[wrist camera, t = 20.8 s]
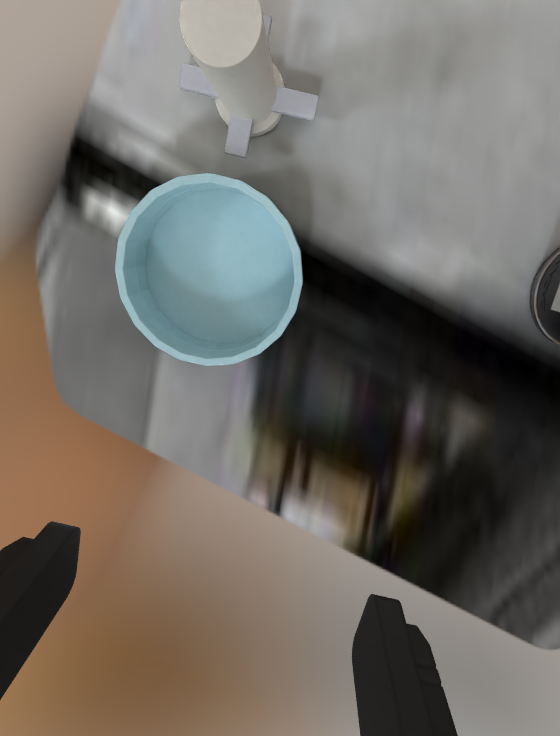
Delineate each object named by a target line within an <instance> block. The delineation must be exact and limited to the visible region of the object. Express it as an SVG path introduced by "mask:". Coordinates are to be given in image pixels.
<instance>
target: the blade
mask: <svg viewBox="0 0 560 736" xmlns="http://www.w3.org/2000/svg"><path fill="white" fill-rule="evenodd" d="M179 19H180V29H181V33H182V36H183V39H184V41H185V43H186V45H187V47H188V49H189V50H190V52H191V54H192V55H193V57H194V58H195V60H196V62H197V63H198V65H199V66H200V67H199V66H194V65H190V64H186V63H182V69H181V77H180V84H179V88H180V89H181V90H185V91H189V92H193V93H198V94H202V95H206V96H210V97H214V98H215V102H216V106H217V109H218V112H219V114H220V116H221V117H222V119H223V120H224V122H225V123H226V124H227V125H228V126H229V127H228V133H227V139H226V145H225V151H224V152H225V153H226V154H230V155H234V156H239V157H243V158H247V152H248V147H249V142H250V137H255V136H260V135H263V134H265V133H267V132H269V131H270V130H271V129H273V128H274V127H275V126H276V125H277V123H278V122H279V120H280V119H281V117H282V114H285V115H289V116H293V117H297V118H301V119H305V120H310V121H314V117H315V113H316V108H317V104H318V99H319V96H318V95H314V94H310V93H306V92H302V91H298V90H294V89H289V88H285V86H284V81H283V78H282V76H281V74H280V72H279V70H278V69H277V67H276V66H275V65H274V64H273V63H272V61H271V56H270V51H269V45H268V39H269V33H270V28H271V23H272V17H271V16H268V15H264V14H263V13H262V8H261V4H260V1H259V0H182V2H181V7H180V15H179Z"/></svg>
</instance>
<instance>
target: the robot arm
mask: <svg viewBox="0 0 560 736" xmlns="http://www.w3.org/2000/svg"><path fill="white" fill-rule="evenodd" d="M530 308H531V313H532V317H533V320H534V322H535V324H536V326H537V327H538V329H539V330H540V331H541V333H542V334H543V335H544V336H545V337H547V338H548V339H549V340H551V341H552V342H554V343H556V344H558V345H560V248H558V249H557V250H556V251H555V252H554V253H552V254H551V255H550V256H549V257H548V259H547V260H546V261H545V262H544V263H543V265H542V266H541V268H540V269H539V271H538V273H537V275H536V277H535V279H534V282H533V285H532V289H531V295H530ZM80 534H81V533H80V528H79V527H75V526H70V525H66V524H62V523H57V522H50V523H48V524H47V525H46V526H45V527H44V528H43V530H42V531H41V532H40V533H39V534H38V535H37V536H36V538H35V539H30V538H26V537H22V538H21V539H19V540H17V541H15V542H13V543H12V544H10V545H8V546H6V547H4V548H3V549H2V550H1V551H0V700H1V698H2V696H3V695H4V693H5V692H6V690H7V689H8V687H9V686H10V684H11V683H12V681H13V680H14V678H15V677H16V675H17V674H18V672H19V670H20V669H21V667H22V666H23V664H24V662H25V661H26V660H27V658H28V656H29V655H30V654H31V652H32V650H33V649H34V647H35V646H36V644H37V643H38V641H39V640H40V638H41V637H42V635H43V634H44V632H45V630H46V629H47V627H48V626H49V624H50V623H51V621H52V620H53V618H54V616H55V615H56V614H57V612H58V611H59V609H60V608H61V606H62V604H63V603H64V601H65V600H66V598H67V597H68V594H69V593H70V590H71V588H72V586H73V583H74V580H75V577H76V572H77V562H78V552H79V544H80ZM352 664H353V673H354V683H355V691H356V700H357V708H358V717H359V726H360V735H361V736H458V735H457V732H456V729H455V725H454V722H453V719H452V716H451V713H450V709H449V706H448V703H447V699H446V696H445V693H444V690H443V687H441V680H440V677H439V673H438V670H437V669H436V663H435V660H434V657H433V654H432V651H431V647H430V645H429V643H428V642H427V640H426V639H425V637H424V636H423V634H422V633H421V631H420V630H419V628H418V627H417V626H415V625H410V624H406V621H405V617H404V614H403V610H402V606H401V603H400V601H399V600H396V599H392V598H387V597H383V596H378V595H374V594H371V595H370V596H369V598H368V600H367V603H366V606H365V608H364V611H363V614H362V617H361V620H360V622H359V625H358V628H357V631H356V634H355V637H354V641H353V648H352Z"/></svg>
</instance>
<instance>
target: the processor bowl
mask: <svg viewBox="0 0 560 736" xmlns="http://www.w3.org/2000/svg"><path fill="white" fill-rule="evenodd" d="M115 272H116V277H117V282H118V287H119V293H120V298H121V300H122V302H123V304H124V306H125V308H126V309H127V311H128V313H129V315H130V317H131V319H132V321H133V323H134V324H135V326H136V327H137V328H138V329H139V330H140V331H141V332H142V333H143V334H144V335H145V336H146V337H147V338H148V339H149V340H150V341H151V342H152V343H153V344H154V345H155V346H156V347H158V348H160V349H161V350H163V351H165V352H167V353H168V354H170V355H172V356H174V357H175V358H177V359H180V360H183V361H187V362H191V363H196V364H200V365H204V366H215V365H228V364H236V363H238V362H241V361H243V360H246V359H248V358H250V357H253V356H255V355H258V354H260V353H261V352H262V351H264V350H265V349H266V348H267V347H268V346H270V345H271V344H272V343H273V342H274V341H275V340H277V339H278V338H279V337H280V336H281V335H282V333H283V332H284V330H285V328H286V327H287V325H288V324H289V322H290V320H291V319H292V317H293V315H294V314H295V312H296V309H297V305H298V301H299V297H300V293H301V288H302V284H303V269H302V256H301V248H300V246H299V243H298V241H297V238H296V235H295V233H294V231H293V228H292V226H291V224H290V222H289V221H288V220H287V219H286V217H285V216H284V215H283V214H282V213H281V211H280V210H279V209H278V208H277V207H276V205H275V204H274V203H273V202H272V201H271V200H270V199H269V198H268V197H267V196H265V195H264V194H262V193H261V192H259V191H257V190H256V189H254V188H253V187H251V186H249V185H248V184H246V183H245V182H243V181H241V180H238V179H234V178H230V177H225V176H221V175H217V174H213V173H203V174H194V175H185V176H178V177H176V178H174V179H172V180H170V181H168V182H166V183H164V184H162V185H160V186H158V187H156V188H154V189H152V190H151V191H150V192H149V193H148V194H147V195H146V196H145V197H144V198H143V199H142V200H141V201H140V202H139V203H138V204H137V206H136V207H135V208H134V209H133V210H132V211H131V212H130V214H129V217H128V219H127V221H126V223H125V225H124V227H123V230H122V232H121V234H120V236H119V239H118V246H117V255H116V264H115Z"/></svg>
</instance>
